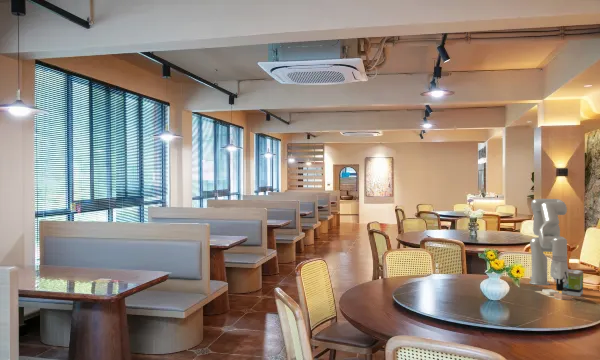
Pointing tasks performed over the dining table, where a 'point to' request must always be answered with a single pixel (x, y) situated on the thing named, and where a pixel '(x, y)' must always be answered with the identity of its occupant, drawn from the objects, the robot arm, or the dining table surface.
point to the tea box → (574, 283)
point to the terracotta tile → (562, 296)
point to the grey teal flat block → (549, 291)
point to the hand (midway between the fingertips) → (559, 290)
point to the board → (552, 296)
